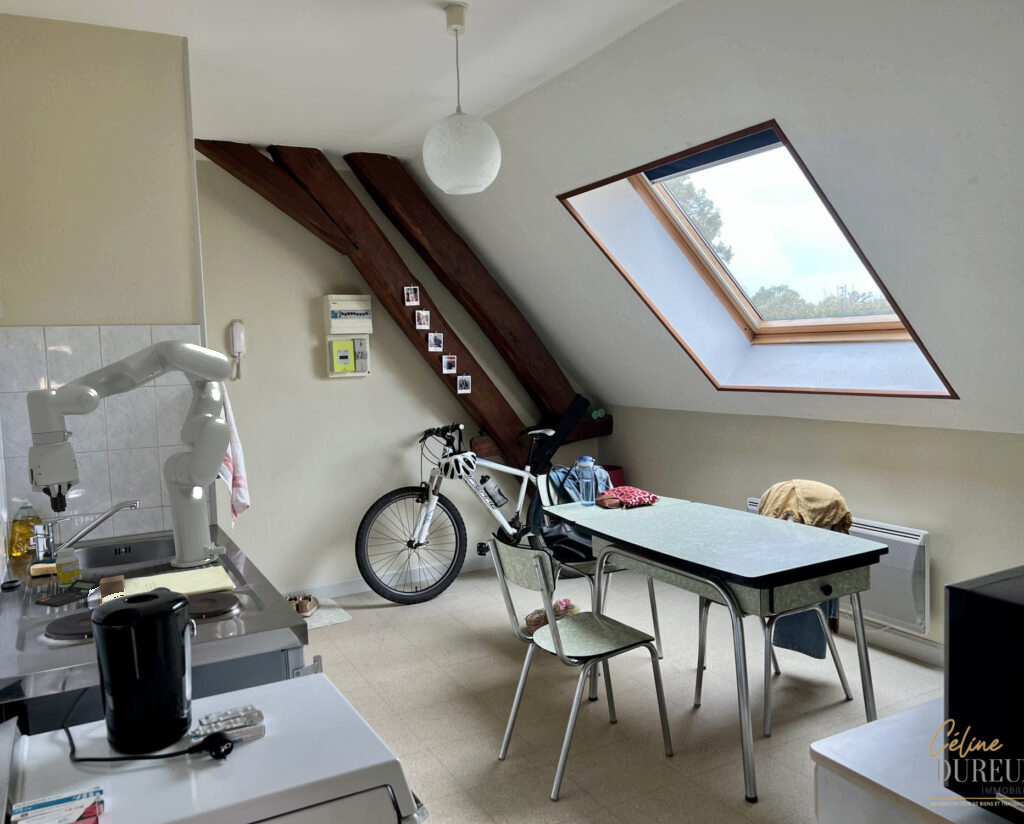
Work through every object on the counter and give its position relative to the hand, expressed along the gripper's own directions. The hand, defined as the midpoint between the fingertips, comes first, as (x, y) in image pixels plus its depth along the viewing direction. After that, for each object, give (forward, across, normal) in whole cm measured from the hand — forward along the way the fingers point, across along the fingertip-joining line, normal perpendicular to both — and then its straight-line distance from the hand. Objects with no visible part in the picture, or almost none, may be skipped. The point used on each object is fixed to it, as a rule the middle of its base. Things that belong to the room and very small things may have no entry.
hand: (59, 511), depth 198 cm
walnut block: (+22, -5, +13) cm, 26 cm away
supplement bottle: (+22, -5, -12) cm, 26 cm away
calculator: (+23, 0, 0) cm, 23 cm away
